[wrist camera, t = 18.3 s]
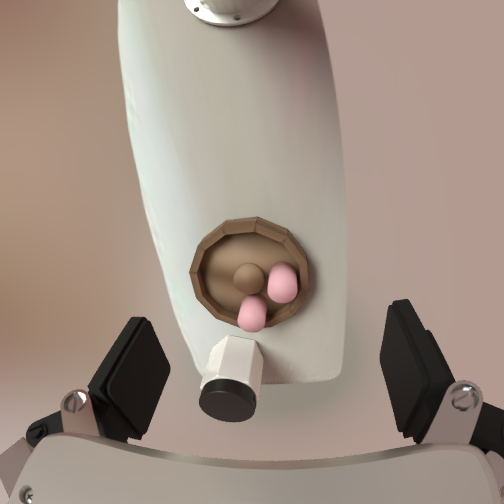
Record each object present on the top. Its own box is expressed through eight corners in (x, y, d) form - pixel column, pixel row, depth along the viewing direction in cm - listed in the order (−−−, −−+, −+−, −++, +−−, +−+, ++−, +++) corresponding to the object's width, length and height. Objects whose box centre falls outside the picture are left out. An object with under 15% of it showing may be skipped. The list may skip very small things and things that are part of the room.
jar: (240, 376, 50) (230, 428, 39) (204, 352, 48) (186, 405, 37) (273, 352, 46) (269, 409, 35) (236, 326, 45) (222, 382, 34)
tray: (185, 225, 39) (179, 232, 36) (302, 212, 36) (303, 218, 34) (209, 318, 45) (205, 329, 42) (309, 312, 42) (310, 324, 40)
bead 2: (267, 262, 38) (265, 279, 34) (295, 260, 38) (296, 276, 34) (271, 285, 40) (269, 304, 35) (297, 283, 39) (298, 302, 35)
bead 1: (240, 293, 41) (235, 311, 36) (265, 291, 40) (263, 310, 36) (244, 313, 42) (240, 333, 38) (268, 312, 41) (266, 331, 37)
